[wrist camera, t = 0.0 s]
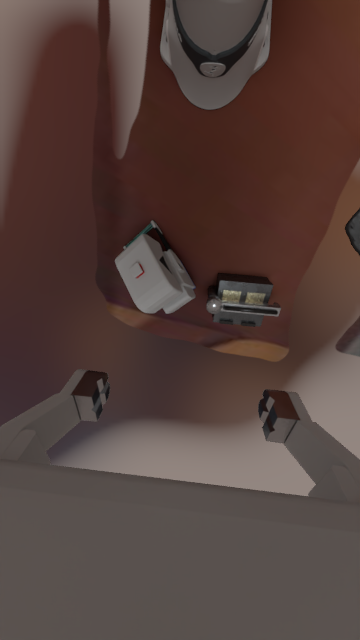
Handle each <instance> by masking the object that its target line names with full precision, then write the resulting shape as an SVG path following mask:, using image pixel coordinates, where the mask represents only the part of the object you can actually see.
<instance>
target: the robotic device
mask: <svg viewBox="0 0 360 640" xmlns="http://www.w3.org/2000/svg"><path fill="white" fill-rule="evenodd" d="M153 227H154V228H155V230H156V231H157V233H158V235H159V237H160V238H161V240H162V242H163V244H164V246H165V247H166V249H167V252H166V251H164V252H162V248H161V245H160V244H159V243H158V242H157V241H156V240H154V239H153V238H151V237H150V236H148V235H146V233H148V232H149V231H150V230H151V229H152V228H153ZM123 248H124V251H123V252H122V253H121V254H120V255H119V256H117V258H116V259H115V263H116V266H117V268H118V270H119V272H120V274H121V276H122V278H123V281H124V283H125V285H126V287H127V289H128V291H129V293H130V295H131V297H132V299H133V301H134V303H135V304H136V306H137V307H138V308H139V309H140V310H141V311H143V312H145V313H155V312H157V311H158V310H160V309H161V308H163V310H164V311H165V312H166V313H167V314H168V313H172V312H174V311H176V310H177V309H179V308H180V307H181V306H183V305H184V304H186V303H187V302H189V301H190V300H192V299H193V298H195V297H196V295H195V293H194V291H193V289H195V288H196V287H195V285H194V283H193V281H192V280H191V278H190V276H189V274H188V273H187V271H186V269H185V267H184V266H183V264H182V262H181V260H179V259H178V257H177V256H176V254H175V253H174V252H173V251H172V249H171V247H170V246H169V244H168V243H167V241H166V239H165V238H164V236H163V235H162V232H161V230H160V229H159V227H158V225H157V224H156V222H154V221H153V220H152V221H151V223H150V224H149V225H148V226H147V227H146V228H145V229H144V230H143V231H142V232H140V233H139V234H138V235H137V236H136V237H135V238H134V239H133V240H132V241H131V242H130V243H129V244H127V245H126V246H124V247H123Z"/></svg>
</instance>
